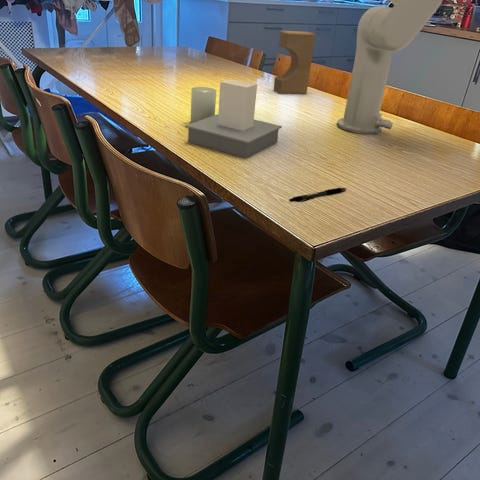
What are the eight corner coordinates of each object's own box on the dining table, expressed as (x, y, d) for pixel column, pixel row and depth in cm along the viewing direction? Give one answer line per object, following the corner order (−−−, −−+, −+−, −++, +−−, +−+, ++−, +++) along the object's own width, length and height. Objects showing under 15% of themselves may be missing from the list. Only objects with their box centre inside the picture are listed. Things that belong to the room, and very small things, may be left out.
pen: (291, 206, 90) (293, 201, 89) (287, 200, 91) (288, 196, 90) (347, 194, 96) (350, 190, 96) (343, 189, 97) (345, 185, 97)
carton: (228, 120, 119) (231, 79, 115) (253, 126, 117) (257, 84, 112) (217, 124, 116) (220, 81, 111) (242, 130, 113) (246, 87, 108)
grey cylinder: (218, 124, 130) (220, 90, 126) (205, 129, 125) (207, 94, 121) (199, 119, 133) (200, 85, 128) (185, 123, 128) (186, 89, 123)
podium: (279, 141, 121) (281, 126, 119) (246, 159, 108) (248, 141, 106) (222, 127, 128) (223, 112, 126) (185, 141, 115) (185, 125, 113)
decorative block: (279, 94, 168) (286, 32, 158) (272, 90, 173) (279, 30, 163) (307, 94, 172) (316, 34, 162) (300, 90, 176) (308, 31, 167)
